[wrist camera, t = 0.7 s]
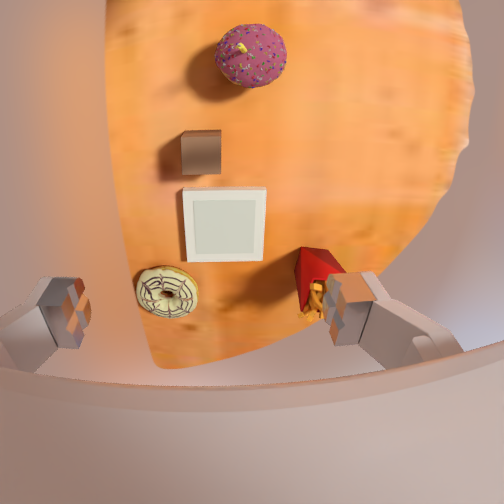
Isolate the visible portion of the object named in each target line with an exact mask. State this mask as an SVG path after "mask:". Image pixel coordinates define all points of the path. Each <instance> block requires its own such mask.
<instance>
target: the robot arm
mask: <svg viewBox="0 0 504 504" xmlns="http://www.w3.org/2000/svg"><path fill="white" fill-rule="evenodd" d="M326 285H327V288H328V292H327V293H326V294H325V295H324V297H323V303H322V306H323V316H324V319H325V322H326V323H327V324H329V325H330V326H331V327H330V331H329V333H330V335H331V338H332V340H333V343H334V346H343V345H354V344H359V346H360V347H361V348H362V349H363V350H365V351H366V352H367V353H368V354H369V355H370V356H372V357H373V358H374V359H375V360H376V361H377V362H378V363H380V364H381V365H382V366H383V367H384V368H385V369H386V370H381V371H375V372H369V373H363V374H357V375H350V376H343V377H336V378H328V379H320V380H312V381H311V380H310V381H300V382H289V383H276V384H262V385H240V386H202V387H201V386H200V387H198V386H150V385H131V384H117V383H106V382H95V381H85V380H77V379H69V378H62V377H55V376H48V375H41V374H35V373H34V372H35V371H36V370H37V369H38V368H39V367H40V366H41V365H42V364H43V363H44V362H45V361H46V360H47V359H48V358H49V357H50V356H51V355H52V354H53V353H54V352H55V351H56V350H57V349H58V348H69V349H79V347H80V345H81V342H82V339H83V337H84V333H83V329H84V328H86V327H87V326H88V324H89V322H90V318H91V307H90V302H89V299H88V298H87V297H86V296H85V295H84V294H83V292H84V290H85V287H84V284H83V281H82V279H80V278H75V277H74V278H73V277H42V278H41V279H40V281H39V282H38V283H37V285H36V286H35V288H34V289H33V291H32V292H31V294H30V295H29V297H28V298H27V300H26V301H25V303H24V304H23V305H19V306H17V307H15V308H14V309H12V310H11V311H9V312H8V313H6V314H4V315H3V316H1V317H0V504H504V340H503V341H500V342H497V343H494V344H490V345H487V346H484V347H480V348H477V349H473V350H470V351H466V352H464V351H463V349H462V348H461V346H460V345H459V343H458V342H457V340H456V339H455V337H454V336H453V335H452V333H451V332H450V330H449V329H447V328H445V327H443V326H442V325H440V324H438V323H436V322H435V321H433V320H431V319H429V318H428V317H426V316H424V315H422V314H421V313H419V312H417V311H415V310H414V309H412V308H410V307H408V306H407V305H405V304H403V303H401V302H399V301H397V300H396V299H391V298H390V296H389V295H388V293H387V292H386V290H385V289H384V288H383V286H382V284H381V283H380V282H379V280H378V279H377V277H376V276H375V274H374V273H373V272H372V271H364V272H355V273H337V274H329V276H328V278H327V282H326Z"/></svg>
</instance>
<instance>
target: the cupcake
mask: <svg viewBox="0 0 504 504" xmlns="http://www.w3.org/2000/svg"><path fill="white" fill-rule="evenodd" d="M215 61H216V64H217V66H218V67H219V68H220V70H221V72H222V73H223V74H224V76H225V77H226V78H227V79H228V80H229V81H231V82H232V83H234V84H236V85H240V86H243V87H248V88H255V87H262V86H265V85H267V84H269V83H271V82H273V81H274V80H275V79H277V78H278V77H279V76H280V75H281V74H282V72H283V70H284V68H285V66H286V61H287V52H286V46H285V43H284V40H283V38H282V37H281V36H280V35H279V34H278V33H276V32H275V31H274V30H273V29H270V28H268V27H267V26H265V25H262V24H245V25H239V26H237V27H235V28H233V29H231V30H230V31H228V32H227V33H226V34H225V35H224V36H223V38H222V39H221V40H220V42H219V43H218V46H217V49H216V53H215Z"/></svg>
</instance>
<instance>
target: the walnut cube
mask: <svg viewBox="0 0 504 504" xmlns="http://www.w3.org/2000/svg"><path fill="white" fill-rule="evenodd" d="M181 158H182V175H200V174H221V130H190V131H185V132H184V133H183V135H182V136H181Z"/></svg>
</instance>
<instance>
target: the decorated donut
mask: <svg viewBox="0 0 504 504" xmlns="http://www.w3.org/2000/svg"><path fill="white" fill-rule="evenodd" d="M163 290H164V291H172V292H173V293H171V294H166V293H163V292H162V291H163ZM136 294H137V298H138V301H139V303H140V304H141V305H142V306H143V307H144V308H145V309H146V310H148V311H149V312H151V313H153V314H155V315H157V316H160V317H164V318H179V317H184V316H186V315H188V314H189V313H190V312H192V311H193V310H194V308H195V307H196V304H197V302H198V287H197V283H196V282H195V281H194V279H193V278H192V277H191V276H190V275H189V274H188V273H187V272H185V271H184V270H182V269H180V268H177V267H174V266H160V267H156V268H153V269H150V270H149V269H148V270H145V271H144V272H143V273H142V274H141V276H140V278H139V281H138V283H137V288H136Z"/></svg>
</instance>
